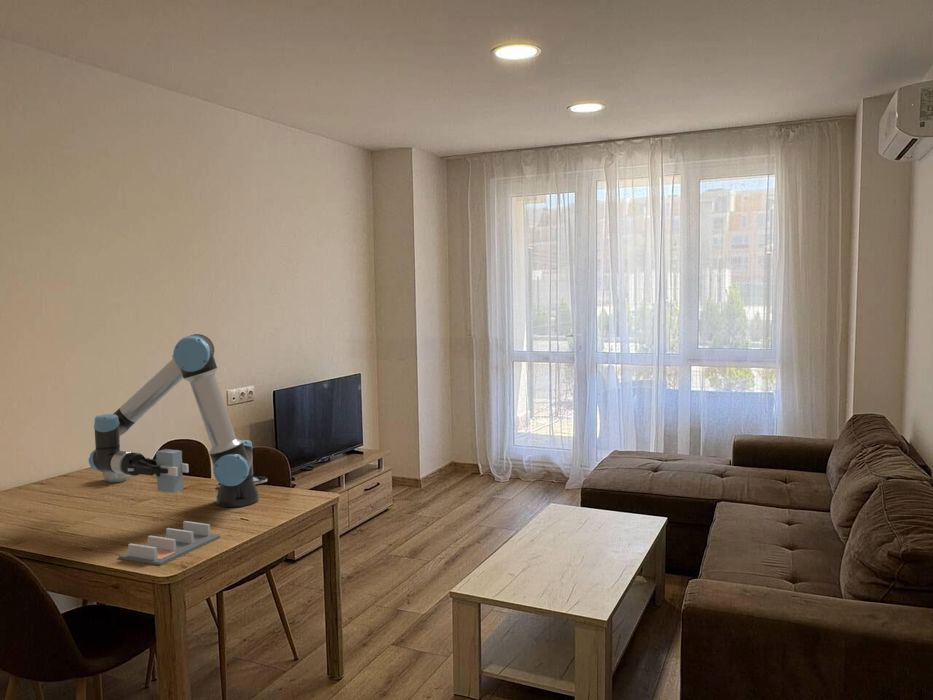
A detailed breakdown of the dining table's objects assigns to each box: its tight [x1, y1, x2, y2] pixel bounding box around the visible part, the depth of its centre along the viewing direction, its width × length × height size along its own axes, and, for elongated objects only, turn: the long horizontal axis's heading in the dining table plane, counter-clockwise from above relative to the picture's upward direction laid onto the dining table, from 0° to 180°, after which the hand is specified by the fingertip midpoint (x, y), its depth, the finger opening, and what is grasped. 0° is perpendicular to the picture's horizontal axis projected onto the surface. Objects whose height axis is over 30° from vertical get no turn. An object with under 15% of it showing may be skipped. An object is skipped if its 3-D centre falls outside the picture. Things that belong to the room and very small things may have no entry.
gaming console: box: [217, 475, 268, 488], centre depth 296 cm, size 19×9×2 cm, turn 126°
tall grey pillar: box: [155, 448, 184, 494], centre depth 239 cm, size 4×7×13 cm, turn 66°
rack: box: [118, 520, 221, 566], centre depth 225 cm, size 25×16×4 cm, turn 158°
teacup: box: [102, 472, 131, 483], centre depth 303 cm, size 14×11×8 cm
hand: (182, 470), depth 237 cm, fingers closed on tall grey pillar, 4 cm apart
